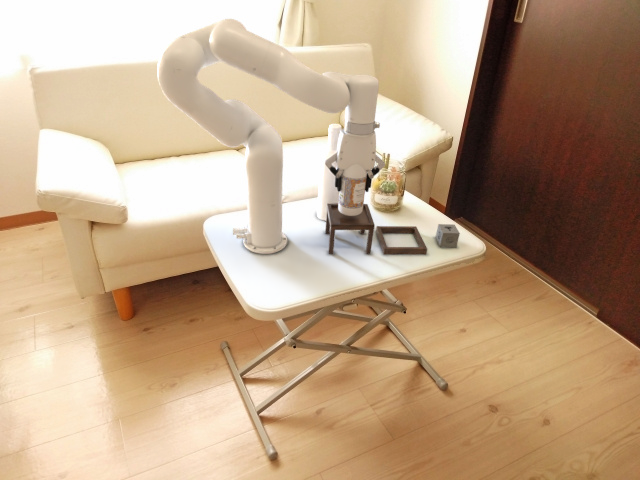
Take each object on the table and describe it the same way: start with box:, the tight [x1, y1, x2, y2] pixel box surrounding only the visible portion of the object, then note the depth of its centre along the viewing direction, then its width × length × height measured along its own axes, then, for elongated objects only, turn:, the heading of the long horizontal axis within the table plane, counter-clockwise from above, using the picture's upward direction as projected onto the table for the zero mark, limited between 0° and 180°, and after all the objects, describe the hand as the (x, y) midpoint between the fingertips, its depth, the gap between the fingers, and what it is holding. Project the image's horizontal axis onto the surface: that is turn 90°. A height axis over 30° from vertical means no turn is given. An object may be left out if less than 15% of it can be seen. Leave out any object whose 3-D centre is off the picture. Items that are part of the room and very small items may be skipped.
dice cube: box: [434, 223, 461, 249], centre depth 135 cm, size 5×5×5 cm
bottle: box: [316, 123, 343, 222], centre depth 139 cm, size 8×8×30 cm
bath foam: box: [338, 164, 367, 216], centre depth 123 cm, size 7×7×20 cm
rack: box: [324, 203, 428, 256], centre depth 132 cm, size 28×12×10 cm, turn 95°
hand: (352, 189), depth 125 cm, fingers closed on bath foam, 7 cm apart
